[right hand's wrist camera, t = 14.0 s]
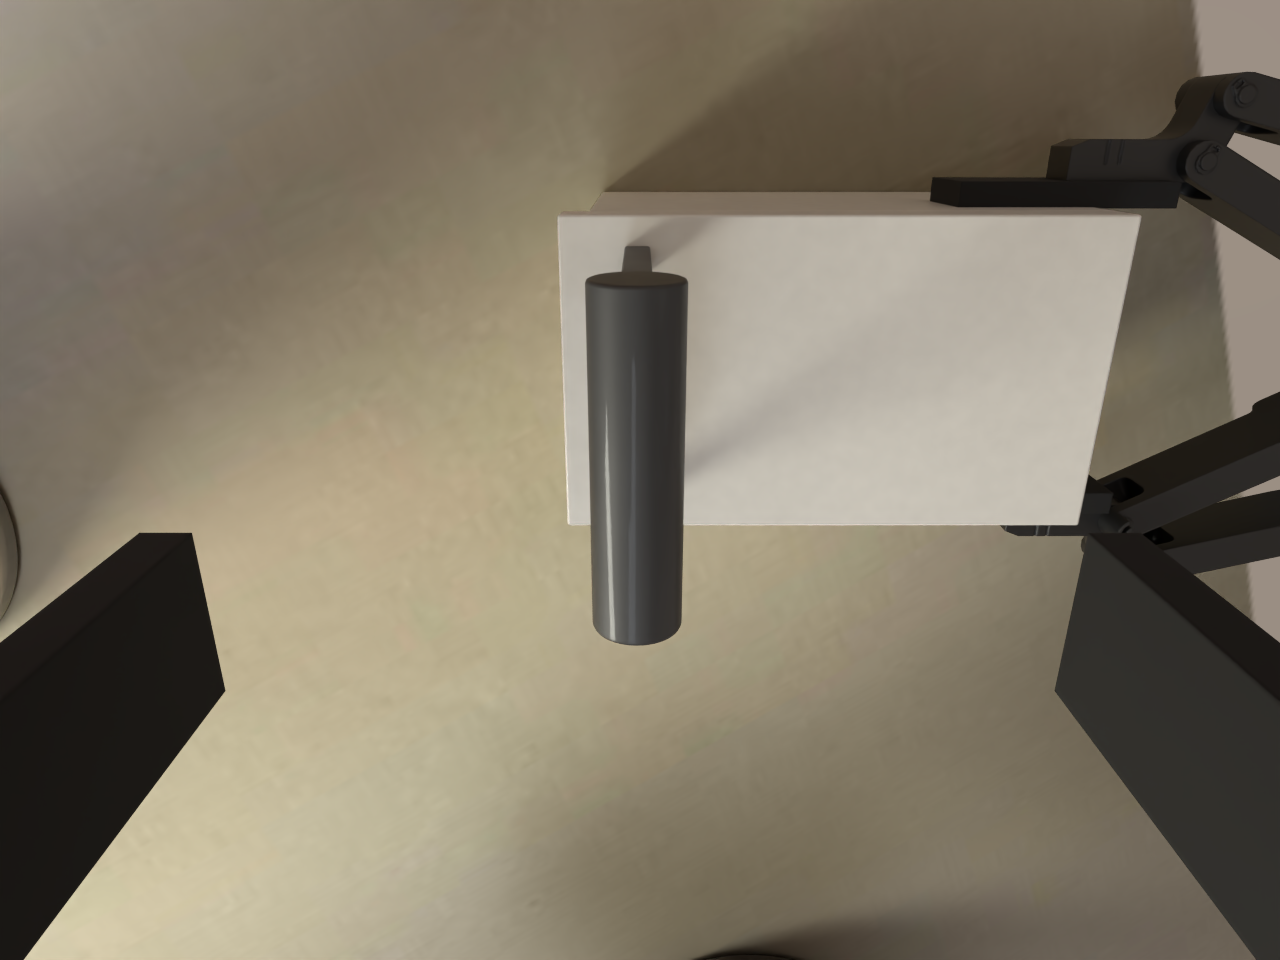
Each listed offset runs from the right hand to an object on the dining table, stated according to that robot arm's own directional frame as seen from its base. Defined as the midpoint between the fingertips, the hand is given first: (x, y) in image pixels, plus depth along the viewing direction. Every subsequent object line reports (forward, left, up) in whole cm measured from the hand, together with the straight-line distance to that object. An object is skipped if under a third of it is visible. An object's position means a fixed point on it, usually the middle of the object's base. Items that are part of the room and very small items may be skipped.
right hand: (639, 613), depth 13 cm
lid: (+1, -6, -14) cm, 15 cm away
